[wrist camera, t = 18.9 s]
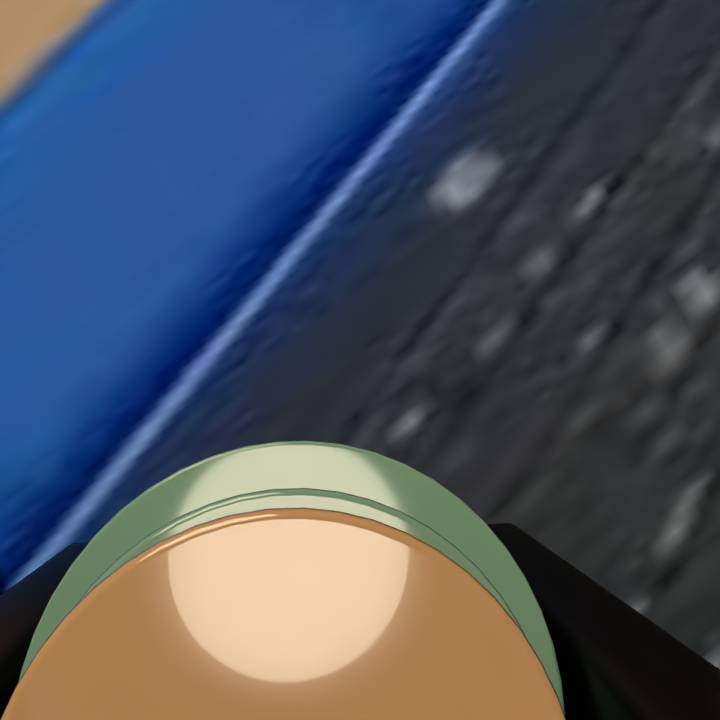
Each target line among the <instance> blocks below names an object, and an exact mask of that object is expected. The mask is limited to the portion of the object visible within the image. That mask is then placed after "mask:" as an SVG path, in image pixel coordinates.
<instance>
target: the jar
mask: <svg viewBox="0 0 720 720" xmlns="http://www.w3.org/2000/svg"><path fill="white" fill-rule="evenodd" d="M0 720H566V718H565V709H564V699H563V690H562V680H561V676H560V672H559V667H558V663H557V658H556V654H555V649H554V645H553V642H552V639H551V636H550V633H549V630H548V627H547V624H546V622H545V619H544V616H543V613H542V610H541V608H540V606H539V604H538V602H537V600H536V598H535V596H534V593H533V591H532V589H531V587H530V585H529V583H528V581H527V579H526V577H525V576H524V574H523V572H522V571H521V569H520V568H519V566H518V565H517V563H516V562H515V560H514V559H513V557H512V555H511V554H510V552H509V551H508V549H507V548H506V547H505V545H504V544H503V543H502V542H501V541H500V539H499V538H498V537H497V536H496V535H495V533H494V532H493V531H492V530H491V529H490V527H489V526H488V525H487V524H486V523H485V521H484V520H482V519H481V518H480V517H479V516H478V515H477V514H476V513H475V512H474V511H473V510H472V509H471V508H470V507H469V506H467V505H466V504H465V503H464V502H463V501H462V500H461V499H460V498H459V497H457V496H456V495H454V494H453V493H452V492H450V491H449V490H448V489H446V488H445V487H443V486H442V485H441V484H439V483H438V482H436V481H435V480H434V479H432V478H430V477H428V476H427V475H425V474H423V473H421V472H419V471H417V470H415V469H414V468H412V467H410V466H408V465H406V464H404V463H402V462H399V461H397V460H394V459H392V458H389V457H386V456H384V455H381V454H379V453H376V452H373V451H369V450H365V449H361V448H357V447H352V446H348V445H344V444H337V443H328V442H318V441H276V442H270V443H263V444H257V445H251V446H244V447H241V448H237V449H234V450H230V451H227V452H223V453H220V454H217V455H213V456H210V457H208V458H206V459H203V460H201V461H199V462H196V463H194V464H192V465H190V466H187V467H185V468H183V469H180V470H179V471H177V472H175V473H173V474H172V475H170V476H168V477H167V478H165V479H163V480H162V481H160V482H158V483H156V484H155V485H153V486H151V487H150V488H148V489H147V490H146V491H145V492H143V493H142V494H141V495H139V496H138V497H137V498H135V499H134V500H133V501H131V502H130V503H129V504H128V505H126V506H125V507H124V508H122V509H121V510H120V511H119V512H118V513H117V514H116V515H115V516H114V517H113V518H112V519H111V520H110V521H109V522H108V523H107V524H106V525H105V526H104V527H103V528H102V529H101V530H100V531H99V532H98V533H97V534H96V535H95V536H94V537H93V538H92V539H91V541H90V542H89V543H88V544H87V546H86V547H85V548H84V549H83V551H82V552H81V553H80V554H79V556H78V557H77V558H76V559H75V560H74V562H73V563H72V564H71V566H70V567H69V569H68V571H67V572H66V574H65V575H64V577H63V579H62V580H61V582H60V583H59V585H58V586H57V588H56V590H55V591H54V593H53V594H52V596H51V598H50V600H49V602H48V604H47V606H46V608H45V610H44V613H43V615H42V617H41V619H40V621H39V623H38V625H37V627H36V629H35V631H34V634H33V637H32V640H31V643H30V646H29V649H28V652H27V655H26V658H25V660H24V663H23V666H22V669H21V673H20V678H19V682H18V684H17V686H16V687H15V689H14V691H13V693H12V696H11V698H10V700H9V702H8V704H7V706H6V708H5V710H4V712H3V715H2V717H1V719H0Z"/></svg>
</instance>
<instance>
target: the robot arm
mask: <svg viewBox="0 0 720 720" xmlns="http://www.w3.org/2000/svg"><path fill="white" fill-rule="evenodd" d="M487 525H488V526H489V527H490V529H491V530H492V531H493V532H494V533H495V535H496V536H497V537H498V538H499V539H500V541H501V542H502V543H503V544H504V545H505V547H506V548H507V549H508V551H509V552H510V554H511V555H512V557H513V559H514V560H515V562H516V563H517V565H518V566H519V568H520V569H521V571H522V572H523V574H524V576H525V577H526V579H527V581H528V583H529V585H530V587H531V589H532V591H533V593H534V596H535V598H536V600H537V602H538V604H539V606H540V608H541V610H542V613H543V616H544V619H545V622H546V624H547V627H548V630H549V633H550V636H551V639H552V642H553V645H554V649H555V654H556V658H557V663H558V667H559V672H560V676H561V680H562V690H563V699H564V709H565V718H566V720H720V669H718V668H717V667H715V666H714V665H712V664H711V663H710V662H708V661H707V660H705V659H704V658H702V657H701V656H700V655H698V654H697V653H695V652H694V651H693V650H691V649H690V648H688V647H687V646H685V645H684V644H683V643H681V642H680V641H678V640H677V639H676V638H674V637H673V636H671V635H670V634H668V633H667V632H666V631H664V630H663V629H661V628H660V627H658V626H657V625H656V624H654V623H653V622H651V621H650V620H649V619H647V618H646V617H644V616H643V615H641V614H640V613H639V612H637V611H636V610H634V609H633V608H632V607H630V606H629V605H627V604H626V603H624V602H623V601H622V600H620V599H619V598H617V597H616V596H614V595H613V594H612V593H610V592H609V591H607V590H606V589H605V588H603V587H602V586H600V585H599V584H597V583H596V582H595V581H593V580H592V579H590V578H589V577H588V576H586V575H585V574H583V573H582V572H580V571H579V570H578V569H576V568H575V567H573V566H572V565H570V564H569V563H568V562H566V561H565V560H563V559H562V558H561V557H559V556H558V555H556V554H555V553H553V552H552V551H551V550H549V549H548V548H546V547H545V546H544V545H542V544H541V543H539V542H538V541H536V540H535V539H534V538H532V537H531V536H529V535H528V534H526V533H525V532H524V531H522V530H521V529H519V528H518V527H517V526H515V525H513V524H511V523H501V524H487ZM87 544H88V543H74V544H72V545H70V546H68V547H66V548H65V549H64V550H62V551H61V552H60V553H58V554H57V555H55V556H54V557H53V558H51V559H50V560H48V561H47V562H46V563H44V564H43V565H42V566H40V567H39V568H37V569H36V570H35V571H33V572H32V573H31V574H29V575H28V576H26V577H25V578H24V579H22V580H21V581H20V582H18V583H17V584H15V585H14V586H13V587H11V588H10V589H9V590H7V591H6V592H4V593H3V594H2V595H0V719H1V717H2V715H3V712H4V710H5V708H6V706H7V704H8V702H9V700H10V698H11V696H12V693H13V691H14V689H15V687H16V686H17V684H18V682H19V678H20V673H21V669H22V666H23V663H24V660H25V658H26V655H27V652H28V649H29V646H30V643H31V640H32V637H33V634H34V631H35V629H36V627H37V625H38V623H39V621H40V619H41V617H42V615H43V613H44V610H45V608H46V606H47V604H48V602H49V600H50V598H51V596H52V594H53V593H54V591H55V590H56V588H57V586H58V585H59V583H60V582H61V580H62V579H63V577H64V575H65V574H66V572H67V571H68V569H69V567H70V566H71V564H72V563H73V562H74V560H75V559H76V558H77V557H78V556H79V554H80V553H81V552H82V551H83V549H84V548H85V547H86V546H87Z"/></svg>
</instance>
